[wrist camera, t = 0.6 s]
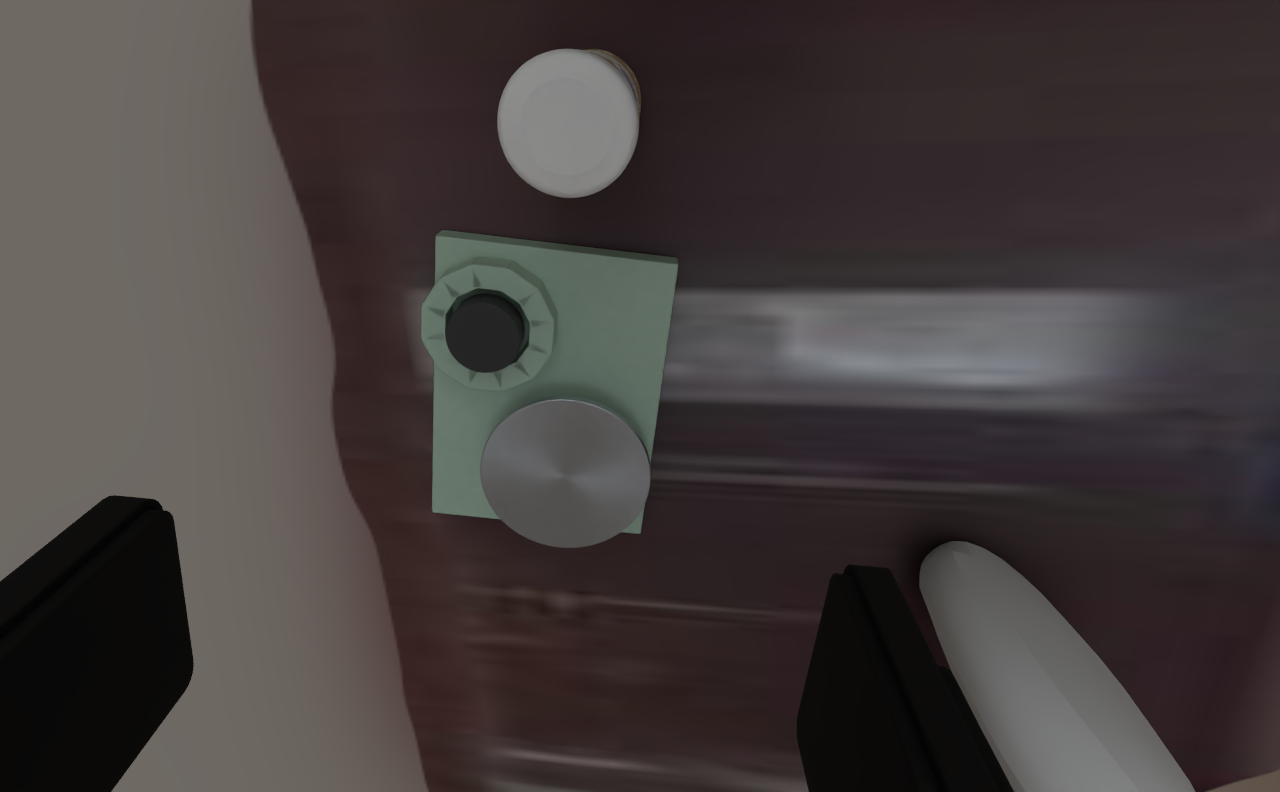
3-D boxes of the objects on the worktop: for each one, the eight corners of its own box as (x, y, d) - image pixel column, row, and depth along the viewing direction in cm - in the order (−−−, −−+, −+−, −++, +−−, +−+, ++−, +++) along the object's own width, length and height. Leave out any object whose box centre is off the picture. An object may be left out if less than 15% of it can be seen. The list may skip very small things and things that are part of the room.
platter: (485, 385, 40) (483, 390, 40) (661, 405, 40) (661, 409, 40) (478, 534, 44) (477, 539, 43) (640, 550, 44) (640, 556, 44)
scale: (436, 228, 40) (421, 242, 37) (677, 257, 40) (679, 273, 38) (433, 499, 46) (419, 528, 44) (640, 521, 47) (640, 550, 44)
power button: (453, 288, 38) (445, 298, 37) (527, 297, 38) (522, 307, 37) (451, 357, 40) (444, 369, 38) (522, 365, 40) (518, 377, 39)
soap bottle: (844, 569, 48) (1050, 1123, 23) (951, 486, 46) (1307, 1007, 21) (989, 695, 52) (1296, 1280, 27) (1095, 624, 50) (1536, 1198, 25)
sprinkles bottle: (660, 107, 37) (667, 139, 25) (588, 170, 39) (560, 229, 26) (598, 24, 36) (573, 15, 24) (524, 92, 37) (464, 116, 25)
